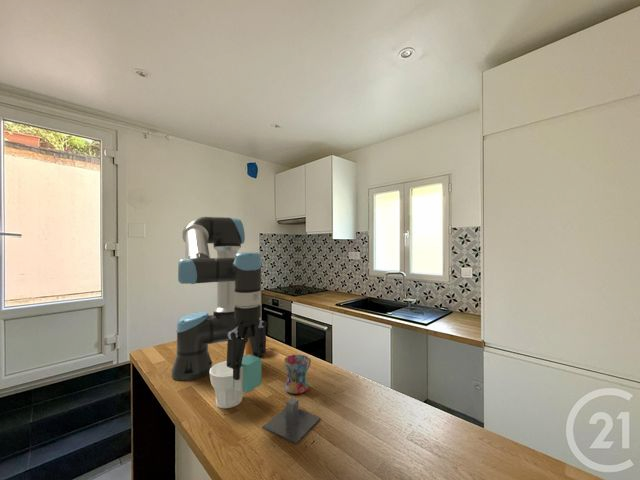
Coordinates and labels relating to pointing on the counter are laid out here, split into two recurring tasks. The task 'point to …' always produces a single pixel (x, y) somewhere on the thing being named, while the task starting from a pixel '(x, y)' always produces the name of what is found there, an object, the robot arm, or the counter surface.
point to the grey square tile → (292, 422)
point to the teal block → (250, 372)
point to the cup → (224, 386)
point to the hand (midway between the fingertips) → (247, 384)
